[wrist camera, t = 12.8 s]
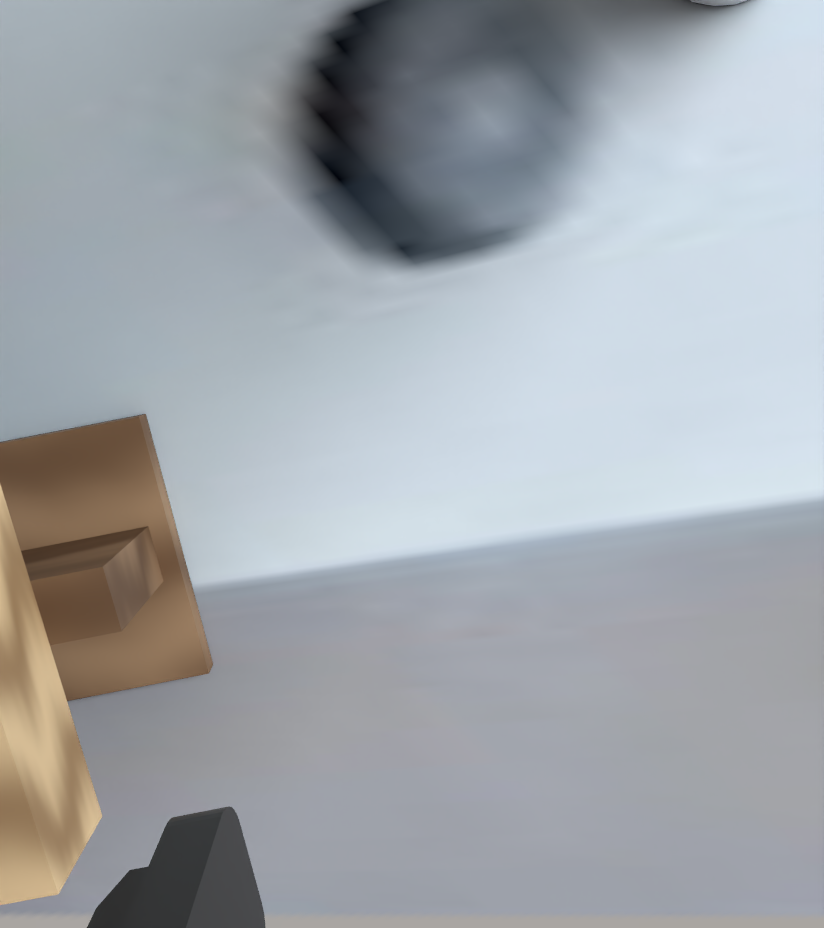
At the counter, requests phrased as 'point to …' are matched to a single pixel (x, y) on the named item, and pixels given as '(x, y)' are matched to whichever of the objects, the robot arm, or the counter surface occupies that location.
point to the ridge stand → (104, 557)
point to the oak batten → (35, 746)
